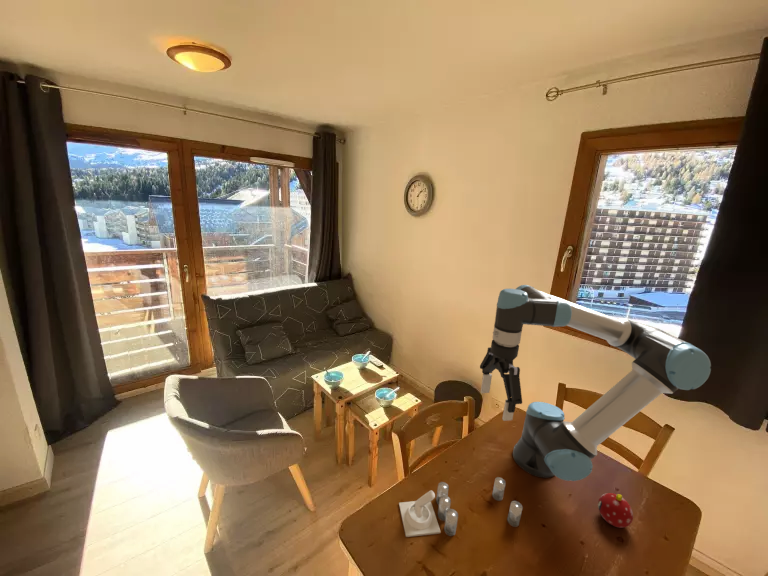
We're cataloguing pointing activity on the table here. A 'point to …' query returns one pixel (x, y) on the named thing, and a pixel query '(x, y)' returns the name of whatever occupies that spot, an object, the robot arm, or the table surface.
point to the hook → (420, 511)
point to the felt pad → (413, 531)
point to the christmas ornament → (615, 510)
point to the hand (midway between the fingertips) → (495, 405)
